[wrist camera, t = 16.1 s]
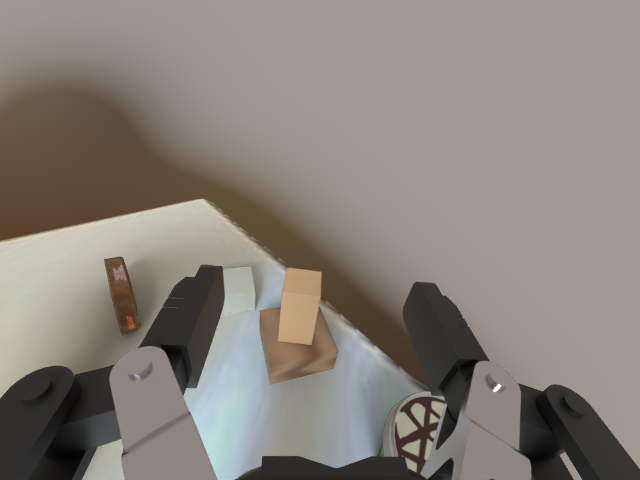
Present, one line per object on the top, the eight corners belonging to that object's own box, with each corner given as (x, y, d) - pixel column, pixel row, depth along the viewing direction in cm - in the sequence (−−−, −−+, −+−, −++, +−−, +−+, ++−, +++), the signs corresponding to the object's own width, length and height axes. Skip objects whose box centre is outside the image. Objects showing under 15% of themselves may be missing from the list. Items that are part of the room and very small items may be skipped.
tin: (111, 286, 51) (97, 250, 46) (131, 280, 52) (119, 245, 48) (124, 346, 41) (108, 309, 37) (148, 337, 43) (135, 300, 38)
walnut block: (269, 385, 40) (270, 366, 37) (259, 330, 47) (259, 310, 45) (332, 369, 43) (338, 351, 40) (313, 320, 51) (317, 301, 48)
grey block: (215, 316, 48) (212, 296, 45) (214, 289, 54) (212, 269, 51) (255, 310, 50) (255, 291, 48) (251, 285, 56) (250, 266, 53)
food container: (398, 405, 40) (422, 366, 34) (438, 441, 36) (471, 405, 31) (344, 479, 32) (363, 444, 26) (388, 535, 28) (421, 508, 23)
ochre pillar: (278, 341, 40) (282, 291, 35) (282, 315, 44) (287, 267, 39) (311, 345, 40) (320, 296, 35) (313, 319, 45) (321, 271, 39)
